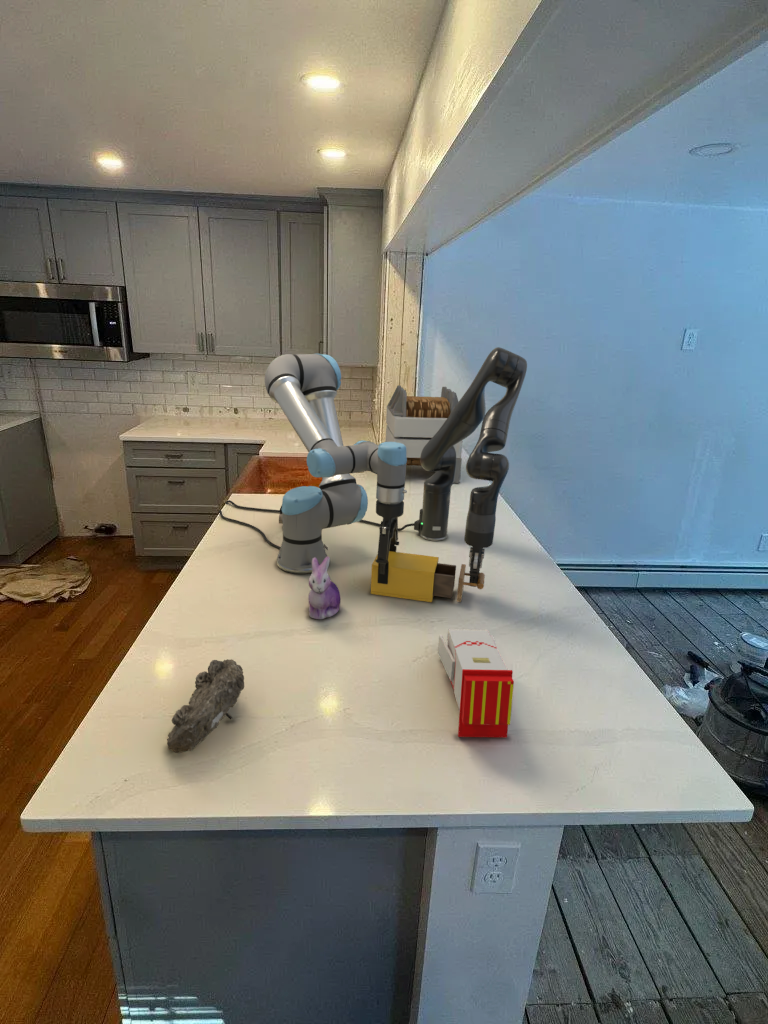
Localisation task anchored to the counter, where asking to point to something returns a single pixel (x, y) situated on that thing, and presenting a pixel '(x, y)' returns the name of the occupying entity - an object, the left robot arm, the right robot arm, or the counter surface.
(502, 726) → the toy
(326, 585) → the figurine
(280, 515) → the figurine character
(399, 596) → the cabinet
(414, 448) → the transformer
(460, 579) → the drawer
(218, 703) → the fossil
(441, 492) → the right robot arm
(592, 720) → the counter surface
